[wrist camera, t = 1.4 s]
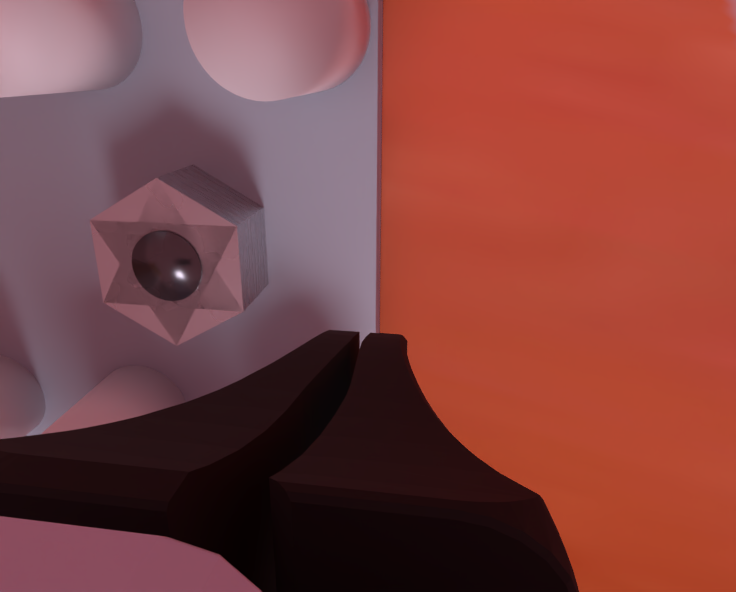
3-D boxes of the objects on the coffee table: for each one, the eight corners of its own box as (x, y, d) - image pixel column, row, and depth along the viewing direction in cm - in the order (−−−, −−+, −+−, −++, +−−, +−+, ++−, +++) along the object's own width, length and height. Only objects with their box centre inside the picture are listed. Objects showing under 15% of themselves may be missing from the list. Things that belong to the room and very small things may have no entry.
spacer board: (378, 463, 24) (353, 572, 19) (-128, 413, 27) (-264, 494, 22) (383, -60, 17) (347, -109, 12) (-280, -43, 21) (-523, -76, 16)
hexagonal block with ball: (300, 267, 20) (278, 294, 18) (179, 330, 22) (144, 362, 20) (225, 144, 19) (191, 155, 17) (103, 219, 21) (56, 240, 19)
